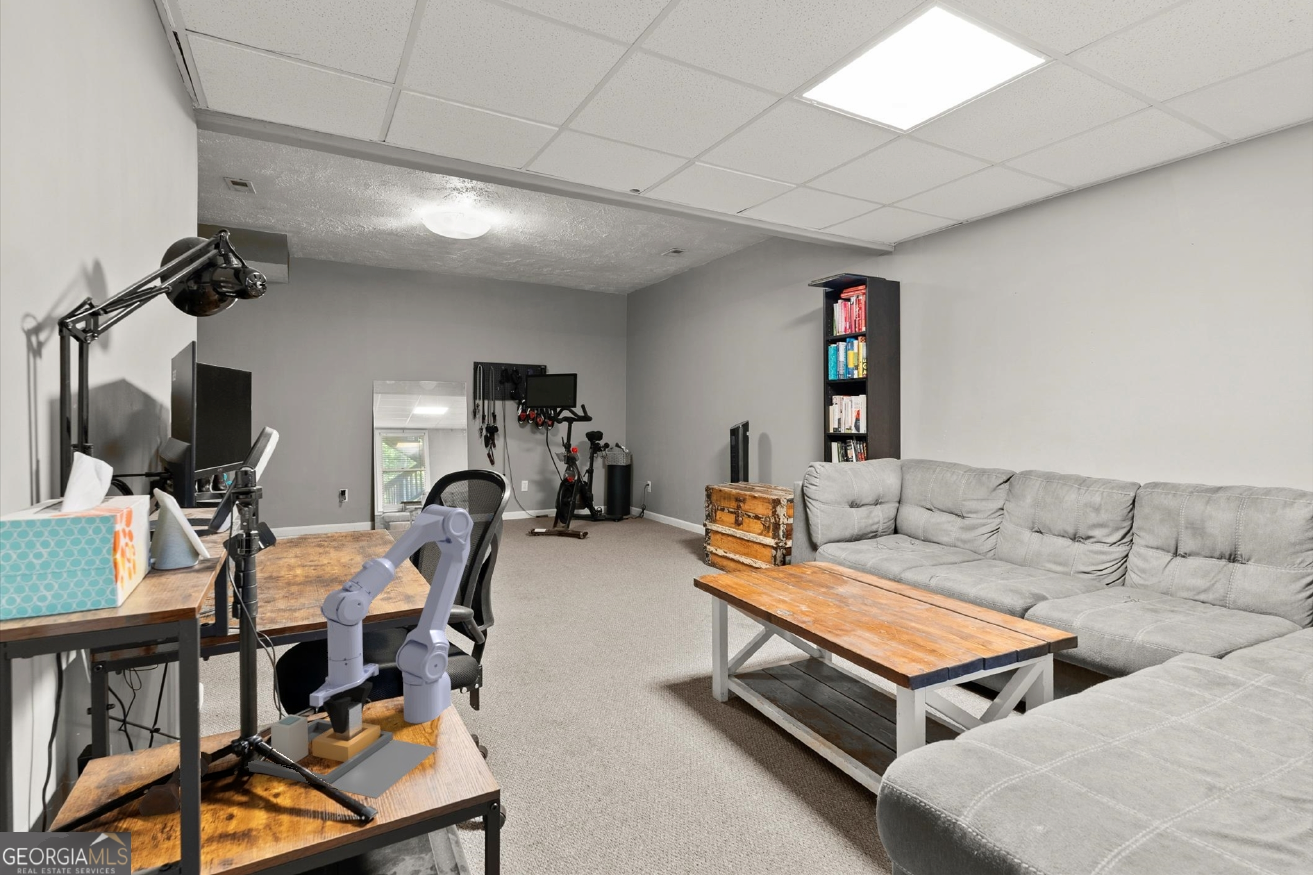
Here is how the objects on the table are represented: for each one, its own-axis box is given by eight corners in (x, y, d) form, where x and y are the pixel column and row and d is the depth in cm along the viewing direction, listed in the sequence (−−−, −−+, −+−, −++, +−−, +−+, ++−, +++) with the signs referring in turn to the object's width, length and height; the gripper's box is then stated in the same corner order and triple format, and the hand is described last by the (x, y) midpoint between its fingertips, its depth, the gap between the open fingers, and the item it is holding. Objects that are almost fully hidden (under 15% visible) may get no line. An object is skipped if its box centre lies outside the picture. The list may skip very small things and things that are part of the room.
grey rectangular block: (349, 737, 119) (348, 700, 119) (362, 739, 118) (361, 702, 118) (336, 745, 116) (335, 707, 116) (349, 747, 115) (349, 710, 115)
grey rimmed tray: (317, 730, 126) (317, 711, 126) (393, 745, 121) (392, 724, 120) (243, 775, 111) (243, 752, 111) (326, 793, 105) (325, 770, 105)
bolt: (207, 778, 113) (164, 829, 99) (179, 767, 112) (131, 817, 97) (225, 748, 114) (185, 794, 99) (197, 737, 113) (152, 782, 98)
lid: (391, 745, 121) (391, 738, 121) (438, 754, 118) (438, 747, 118) (324, 793, 105) (324, 786, 105) (376, 805, 102) (376, 798, 102)
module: (291, 751, 116) (290, 713, 116) (308, 755, 115) (307, 716, 115) (271, 763, 113) (270, 723, 112) (289, 767, 111) (288, 726, 111)
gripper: (357, 639, 125) (358, 706, 126) (295, 667, 111) (297, 743, 112) (387, 643, 123) (388, 711, 123) (327, 672, 109) (329, 749, 110)
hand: (346, 727), depth 117 cm, fingers closed on grey rectangular block, 3 cm apart
